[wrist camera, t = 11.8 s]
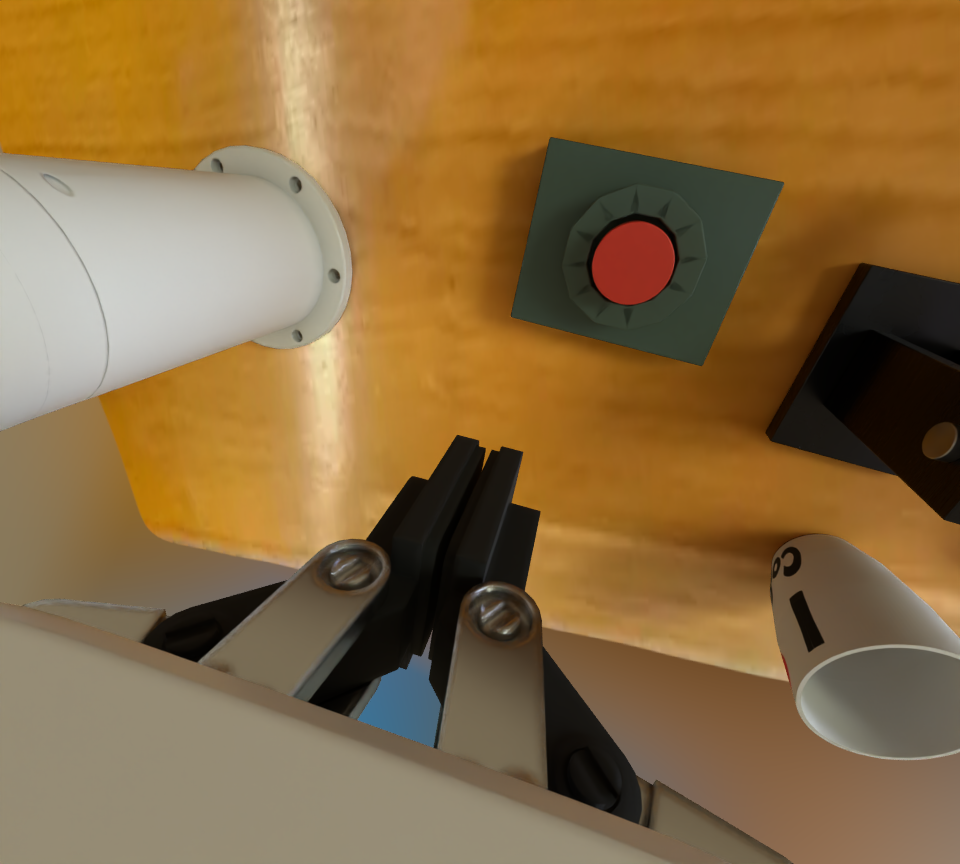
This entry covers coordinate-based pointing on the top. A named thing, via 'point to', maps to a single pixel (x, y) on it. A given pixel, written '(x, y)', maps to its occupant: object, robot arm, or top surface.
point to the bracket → (885, 385)
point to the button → (633, 262)
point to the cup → (864, 653)
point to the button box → (654, 199)
